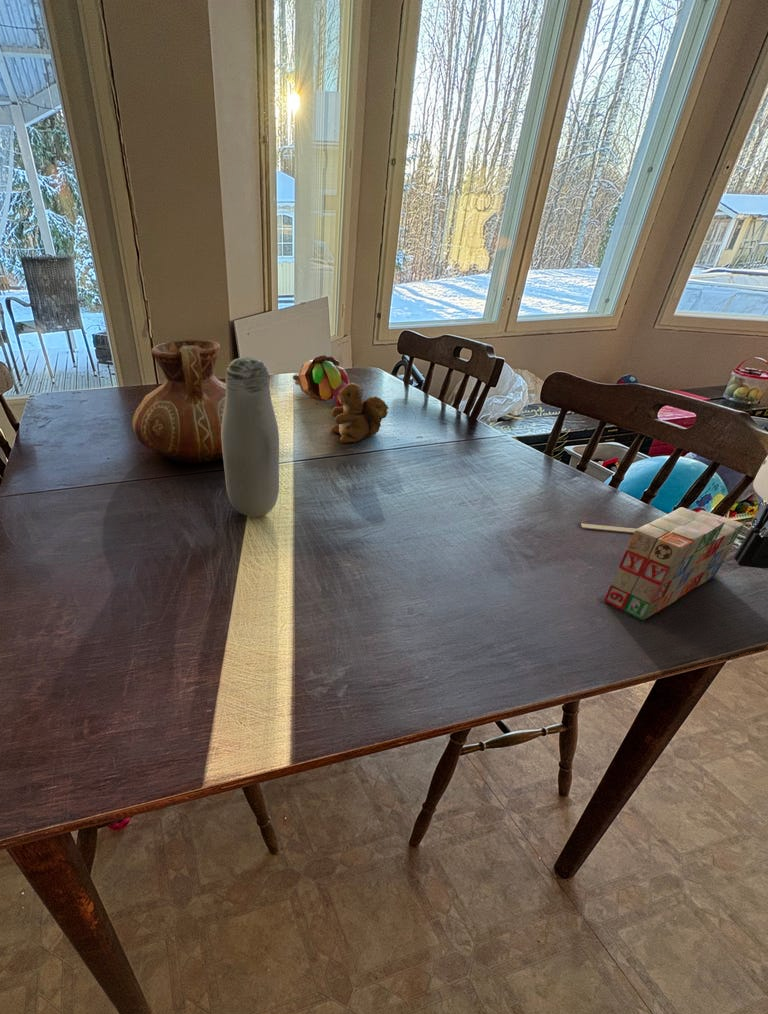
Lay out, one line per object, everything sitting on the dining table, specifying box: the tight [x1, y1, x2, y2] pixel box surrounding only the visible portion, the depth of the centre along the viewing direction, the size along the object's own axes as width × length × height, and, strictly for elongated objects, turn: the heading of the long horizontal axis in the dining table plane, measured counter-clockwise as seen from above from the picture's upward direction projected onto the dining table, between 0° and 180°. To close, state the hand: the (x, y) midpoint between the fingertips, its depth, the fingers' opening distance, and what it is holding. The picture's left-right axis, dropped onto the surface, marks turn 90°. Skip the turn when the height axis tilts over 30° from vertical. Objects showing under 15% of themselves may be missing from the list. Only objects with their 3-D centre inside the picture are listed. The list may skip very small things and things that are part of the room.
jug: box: [131, 338, 226, 464], centre depth 127 cm, size 30×30×25 cm
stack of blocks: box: [603, 506, 745, 621], centre depth 79 cm, size 21×6×12 cm, turn 123°
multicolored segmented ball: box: [292, 354, 350, 407], centre depth 167 cm, size 15×15×25 cm
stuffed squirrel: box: [330, 381, 390, 444], centre depth 136 cm, size 10×14×13 cm
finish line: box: [580, 522, 637, 534], centre depth 98 cm, size 18×2×1 cm, turn 75°
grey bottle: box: [221, 356, 280, 518], centre depth 97 cm, size 10×10×28 cm
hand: (750, 563), depth 62 cm, fingers closed
